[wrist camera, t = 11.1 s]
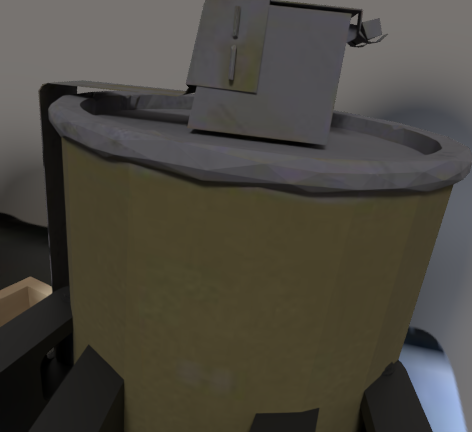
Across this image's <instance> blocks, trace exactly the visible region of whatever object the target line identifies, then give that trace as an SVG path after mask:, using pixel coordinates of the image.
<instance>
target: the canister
mask: <svg viewBox="0 0 472 432" xmlns="http://www.w3.org/2000/svg"><path fill="white" fill-rule="evenodd" d="M356 14H358V23H357V25H353V24H350V20H351V18H352V17H353V16H355V15H356ZM362 15H363V11H362V9H354V8H344V7H335V6H326V5H316V4H307V3H298V2H288V1H279V0H206V1H205V3H204V6H203V11H202V15H201V19H200V24H199V28H198V33H197V37H196V41H195V46H194V50H193V55H192V59H191V64H190V68H189V72H188V77H187V81H186V85H187V86H188V87H189V88H188V89H187V91H181V90H170V89H161V88H151V87H141V86H132V85H122V84H111V83H102V82H92V81H71V82H70V81H69V82H56V83H46V84H42V86H41V88H40V89H39V106H40V120H41V136H42V149H43V165H44V179H45V194H46V208H47V223H48V238H49V252H50V267H51V282H52V293H53V292H55V291H56V290H58V289H60V288H63V287H66V286H70V301H71V310H72V316H73V332H72V334H73V355H74V365H75V363H76V362H77V360H78V359H79V357H80V356H81V354H82V353H83V352H84V350H85V349H86V347H87V346H88V344H89V345H90V346H91V347H92V348H93V349H94V350H95V351H96V352H97V353H98V354H99V355H100V356H101V357H102V358H103V359H104V360H105V361H106V362H107V363H108V364H109V365H110V366H111V367H112V368H113V369H114V370H115V371H116V372H117V373H118V374H119V375H120V376H121V377H122V378H123V379H124V432H249V431H250V429H251V426H252V423H253V420H254V418H255V415H256V413H289V412H303V411H307V410H311V409H316V408H319V414H318V419H317V425H316V431H315V432H361V428H362V425H363V421H364V419H363V415H362V411H361V407H360V404H361V401H362V397H363V394H364V391H365V390H366V389H367V388H368V387H369V386H370V385H371V384H372V383H373V382H374V381H375V380H377V379H378V378H379V377H380V376H381V374H382V372H383V371H384V370H385V368H386V367H387V366H388V365H389V364H390V363H391V362H393V364H394V363H395V362H396V361H397V360H398V359H399V356H400V352H401V349H402V346H403V343H404V340H405V337H406V333H407V330H408V327H409V324H410V321H411V318H412V314H413V311H414V308H415V305H416V302H417V298H418V295H419V292H420V289H421V286H422V283H423V280H424V276H425V273H426V270H427V267H428V264H429V261H430V257H431V254H432V251H433V248H434V245H435V241H436V238H437V235H438V232H439V229H440V226H441V223H442V219H443V216H444V213H445V210H446V207H447V204H448V200H449V197H450V194H451V191H452V188H453V185H454V184H455V183H457V182H459V181H461V180H463V179H464V178H465V177H466V176H467V175H468V173H469V172H470V168H471V164H472V154H471V151H470V149H469V148H468V147H467V146H465V145H463V144H461V143H459V142H457V141H455V140H453V139H451V138H449V137H446V136H443V135H439V134H436V133H432V132H429V131H425V130H422V129H418V128H415V127H411V126H408V125H404V124H401V123H397V122H392V121H387V120H381V119H376V118H371V117H366V116H361V115H356V114H351V113H346V112H339V111H333V109H334V104H335V98H336V94H337V88H338V83H339V78H340V73H341V67H342V62H343V57H344V51H345V46H346V43H348V44H349V45H350V46H351V47H363V46H365V45H367V44H371V43H377V42H380V41H381V40H382V39H383V38H384V37H386V36H387V35H388V34H386V35H384V36H382V37H381V38H380V39H379V40H378V41H376V42H370V41H367V40H370V39H372V38H375V37H377V36H380V35H382V31H381V25H380V19H379V18H378V19H374V20H370V21H366V22H362ZM361 22H362V23H361ZM362 42H363V43H366V44H365V45H361V46H355V45H357V44H360V43H362ZM77 86H81V87H90V88H100V89H109V90H119V91H104V92H103V91H102V92H88V93H81V94H77ZM191 93H195V94H191Z"/></svg>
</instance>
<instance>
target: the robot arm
mask: <svg viewBox="0 0 472 432" xmlns="http://www.w3.org/2000/svg"><path fill="white" fill-rule="evenodd" d="M72 332H73V316H72V310H71V301H70V286H66V287H63V288H60V289H58V290H56V291H55V292H53V293H52V294H50V295H49V296H47V297H46V298H44V299H43V300H41V301H39V302H38V303H36V304H35V305H33V306H32V307H30V308H29V309H27V310H26V311H24V312H23V313H21V314H20V315H18V316H16V317H15V318H13V319H12V320H10V321H9V322H7V323H6V324H4V325H3V326H1V327H0V432H124V379H123V378H122V377H121V376H120V375H119V374H118V373H117V372H116V371H115V370H114V369H113V368H112V367H111V366H110V365H109V364H108V363H107V362H106V361H105V360H104V359H103V358H102V357H101V356H100V355H99V354H98V353H97V352H96V351H95V350H94V349H93V348H92V347H91V346H90V345H89V344H88V346H87V347H86V349H85V350H84V352H83V353H82V354H81V356H80V357H79V359H78V360H77V362H76V363H75V365H74V355H73V334H72ZM53 347H54V351H53V352H52V353H51V354H49V355H48V356H47V355H46V354H47V353H48V352H49V351H50V350H51V349H52V348H53ZM360 407H361V411H362V415H363V419H364V421H363V425H362V428H361V432H433V431H432V429H431V427H430V424H429V422H428V420H427V417H426V415H425V413H424V410H423V408H422V406H421V403H420V401H419V399H418V396H417V394H416V392H415V389H414V387H413V385H412V382H411V380H410V378H409V376H408V373H407V371H406V369H405V367H404V366H403V364H402V363H401V362H400V361H399V360H397V361H396V362H395V363H394V364H393V362H391V363H390V364H389V365H388V366H387V367H386V368H385V370H384V371H383V372H382V374H381V376H380V377H379V378H378V379H377V380H375V381H374V382H373V383H372V384H371V385H370V386H369V387H368V388H367V389H366V390H365V391H364V394H363V397H362V401H361V404H360ZM318 414H319V408H316V409H311V410H307V411H303V412H289V413H256V415H255V418H254V420H253V423H252V426H251V429H250V431H249V432H315V431H316V425H317V419H318Z"/></svg>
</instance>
